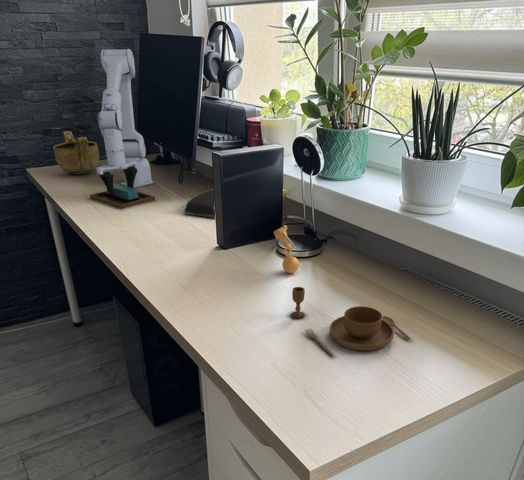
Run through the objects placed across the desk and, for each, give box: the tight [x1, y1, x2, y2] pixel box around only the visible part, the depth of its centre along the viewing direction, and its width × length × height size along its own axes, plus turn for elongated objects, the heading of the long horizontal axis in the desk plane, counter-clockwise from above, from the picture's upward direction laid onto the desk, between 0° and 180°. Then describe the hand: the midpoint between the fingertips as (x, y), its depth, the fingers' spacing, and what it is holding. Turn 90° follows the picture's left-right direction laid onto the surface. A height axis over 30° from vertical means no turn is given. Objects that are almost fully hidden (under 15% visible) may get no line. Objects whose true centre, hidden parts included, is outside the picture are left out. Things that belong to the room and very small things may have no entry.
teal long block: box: [105, 182, 139, 203], centre depth 176 cm, size 14×4×4 cm, turn 47°
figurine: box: [273, 224, 300, 274], centre depth 121 cm, size 8×6×12 cm
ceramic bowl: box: [52, 130, 100, 176], centre depth 207 cm, size 22×17×15 cm
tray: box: [89, 190, 156, 210], centre depth 177 cm, size 14×19×2 cm
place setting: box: [290, 286, 411, 357], centre depth 100 cm, size 18×20×6 cm
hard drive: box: [183, 188, 216, 219], centre depth 167 cm, size 13×19×4 cm
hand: (121, 192), depth 176 cm, fingers open, 7 cm apart
